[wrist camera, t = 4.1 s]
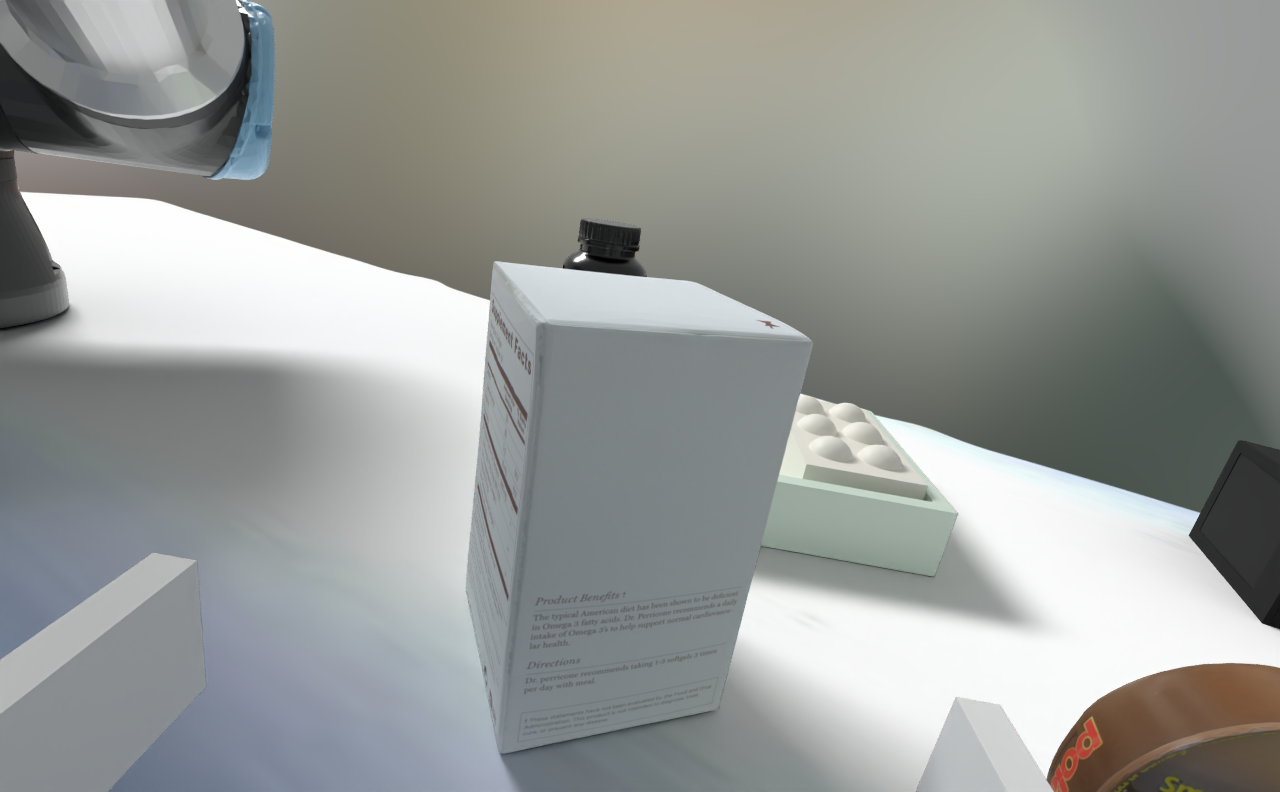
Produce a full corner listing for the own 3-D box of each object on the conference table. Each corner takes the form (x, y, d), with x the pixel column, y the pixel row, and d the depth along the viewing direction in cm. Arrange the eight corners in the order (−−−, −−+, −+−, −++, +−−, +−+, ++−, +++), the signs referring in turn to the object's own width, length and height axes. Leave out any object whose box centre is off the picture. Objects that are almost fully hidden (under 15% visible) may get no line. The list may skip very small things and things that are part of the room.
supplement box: (641, 576, 26) (700, 278, 22) (723, 717, 20) (826, 337, 16) (460, 592, 24) (490, 254, 20) (488, 763, 17) (541, 313, 13)
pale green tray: (526, 504, 30) (534, 438, 29) (572, 406, 44) (579, 359, 42) (934, 576, 30) (958, 513, 29) (856, 457, 44) (870, 411, 42)
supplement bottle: (604, 354, 58) (625, 220, 54) (647, 379, 52) (673, 234, 49) (536, 355, 54) (554, 211, 50) (575, 383, 49) (597, 225, 45)
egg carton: (789, 524, 32) (810, 449, 30) (761, 440, 42) (776, 381, 41) (906, 545, 32) (933, 471, 30) (850, 456, 42) (867, 397, 41)
